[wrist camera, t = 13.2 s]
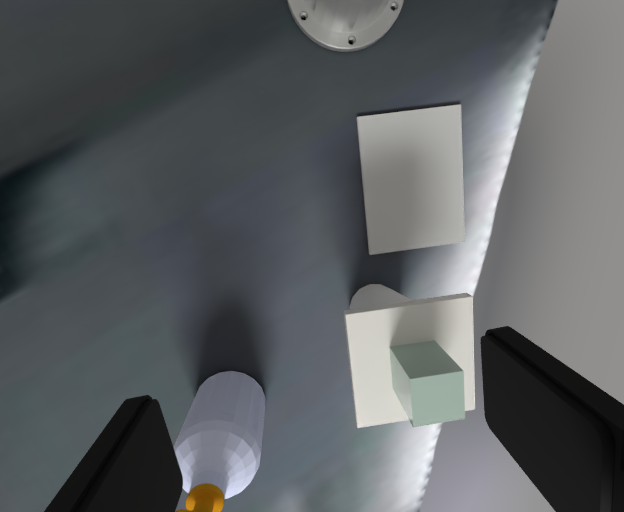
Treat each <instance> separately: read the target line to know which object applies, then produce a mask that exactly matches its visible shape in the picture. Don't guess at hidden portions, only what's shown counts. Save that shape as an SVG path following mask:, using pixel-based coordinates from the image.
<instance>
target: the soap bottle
mask: <svg viewBox="0 0 624 512" xmlns="http://www.w3.org/2000/svg"><path fill="white" fill-rule="evenodd" d="M265 399H266V398H265V395H264V393H263V390H262V388H261V386H260V385H259V384H258V383H257V382H256V381H255V379H254V378H252V377H250V376H248V375H246V374H245V373H241V372H236V371H226V372H219V373H217V374H215V375H213V376H211V377H209V378H208V379H207V380H206V381H205V382H204V383H203V384H202V385H201V386H200V387H199V389H198V392H197V394H196V396H195V398H194V401H193V403H192V405H191V408H190V410H189V412H188V415H187V417H186V419H185V422H184V424H183V426H182V429H181V431H180V433H179V436H178V438H177V440H176V443H175V445H174V447H173V448H174V451H175V454H176V457H177V460H178V463H179V466H180V470H181V473H182V476H183V489H184V490H185V491H186V492H187V493H188V496H187V500H186V508H187V510H182V509H181V510H178V511H175V512H221V510H222V508H223V504H224V500H225V499H227V498H230V497H232V496H234V495H236V494H238V493H240V492H241V491H242V490H243V489H245V488H246V487H247V486H248V485H249V484H250V482H251V481H252V479H253V477H254V475H255V473H256V471H257V469H258V467H259V465H260V455H261V445H262V434H263V424H264V414H265Z"/></svg>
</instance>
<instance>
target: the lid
mask: <svg viewBox="0 0 624 512" xmlns="http://www.w3.org/2000/svg"><path fill="white" fill-rule="evenodd" d="M344 320H345V329H346V339H347V348H348V357H349V366H350V375H351V385H352V394H353V403H354V412H355V421H356V424H357V428H361V427H367V426H373V425H380V424H386V423H392V422H398V421H405V420H410V422H411V424H412V426H413V427H417V426H423V425H429V424H435V423H442V422H448V421H454V420H460V419H465V411H467V410H473V409H475V388H474V387H475V385H474V384H475V383H474V336H473V296H471V295H469V294H468V293H462V294H455V295H448V296H441V297H434V298H427V299H420V300H413V301H406V302H399V303H392V304H385V305H378V306H371V307H364V308H358V309H351V310H344Z"/></svg>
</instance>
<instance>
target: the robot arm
mask: <svg viewBox="0 0 624 512" xmlns="http://www.w3.org/2000/svg"><path fill="white" fill-rule="evenodd" d="M403 2H404V0H287V3H288V6H289V9H290V12H291V14H292V16H293V18H294V20H295V22H296V23H297V25H298V26H299V27H300V29H301V30H302V31H303V33H304V34H306V35H307V36H308V37H309V38H310V39H311V40H312V41H314V42H315V43H317V44H318V45H320V46H322V47H324V48H327V49H330V50H333V51H339V52H352V51H357V50H361V49H364V48H366V47H368V46H370V45H372V44H374V43H375V42H377V41H378V40H379V39H380V38H382V37H383V36H384V35H385V34H386V32H387V31H388V30H389V29H390V28H391V26H392V25H393V23H394V22H395V20H396V19H397V17H398V15H399V13H400V11H401V8H402V5H403ZM391 8H393V9H394V11H393V10H391ZM303 17H304V18H305V19H306V20H301V18H303ZM349 41H351V42H352V43H353V45H350V44H349V43H348V42H349ZM481 357H482V374H483V392H484V410H485V418H486V422H487V424H488V426H489V428H490V429H491V431H492V432H493V433H494V434H495V436H496V437H497V438H498V439H499V441H500V442H501V443H502V445H503V446H504V447H505V448H506V450H507V451H508V452H509V453H510V455H511V456H512V457H513V458H514V460H515V461H516V462H517V463H518V465H519V466H520V467H521V468H522V470H523V471H524V472H525V474H526V475H527V476H528V477H529V479H530V480H531V481H532V482H533V484H534V485H535V486H536V487H537V489H538V490H539V491H540V492H541V494H542V495H543V496H544V497H545V499H546V500H547V501H548V502H549V504H550V505H551V506H552V507H553V509H554V510H555V511H556V512H624V405H623V404H622V403H620V402H619V401H617V400H616V399H614V398H613V397H612V396H610V395H609V394H607V393H606V392H604V391H603V390H601V389H600V388H598V387H597V386H596V385H594V384H593V383H591V382H590V381H588V380H587V379H585V378H584V377H582V376H581V375H579V374H578V373H577V372H575V371H574V370H572V369H571V368H569V367H568V366H566V365H565V364H563V363H562V362H561V361H559V360H557V359H556V358H554V357H553V356H552V355H550V354H549V353H547V352H546V351H544V350H543V349H542V348H540V347H538V346H537V345H535V344H534V343H533V342H531V341H530V340H528V339H527V338H525V337H524V336H523V335H521V334H520V333H518V332H517V331H515V330H514V329H512V328H511V327H508V326H506V327H500V328H495V329H490V330H487V331H486V334H485V336H482V337H481ZM182 488H183V476H182V473H181V470H180V466H179V463H178V460H177V457H176V454H175V451H174V448H173V445H172V442H171V439H170V436H169V433H168V429H167V426H166V423H165V420H164V417H163V414H162V411H161V408H160V405H159V402H158V401H157V400H156V399H153V400H152V398H151V397H150V396H149V395H145V396H140V397H135V398H130V399H126V400H125V401H124V402H123V404H122V405H121V406H120V408H119V409H118V410H117V412H116V413H115V415H114V416H113V417H112V419H111V420H110V421H109V423H108V424H107V426H106V427H105V428H104V430H103V431H102V433H101V434H100V435H99V437H98V438H97V439H96V441H95V442H94V444H93V445H92V446H91V448H90V449H89V450H88V452H87V453H86V455H85V456H84V457H83V459H82V460H81V461H80V463H79V464H78V466H77V467H76V468H75V470H74V471H73V473H72V474H71V475H70V477H69V478H68V479H67V481H66V482H65V484H64V485H63V486H62V488H61V489H60V490H59V492H58V493H57V495H56V496H55V497H54V499H53V500H52V502H51V503H50V504H49V506H48V507H47V508H46V510H45V511H44V512H175V510H176V507H177V504H178V501H179V498H180V495H181V492H182Z"/></svg>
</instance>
